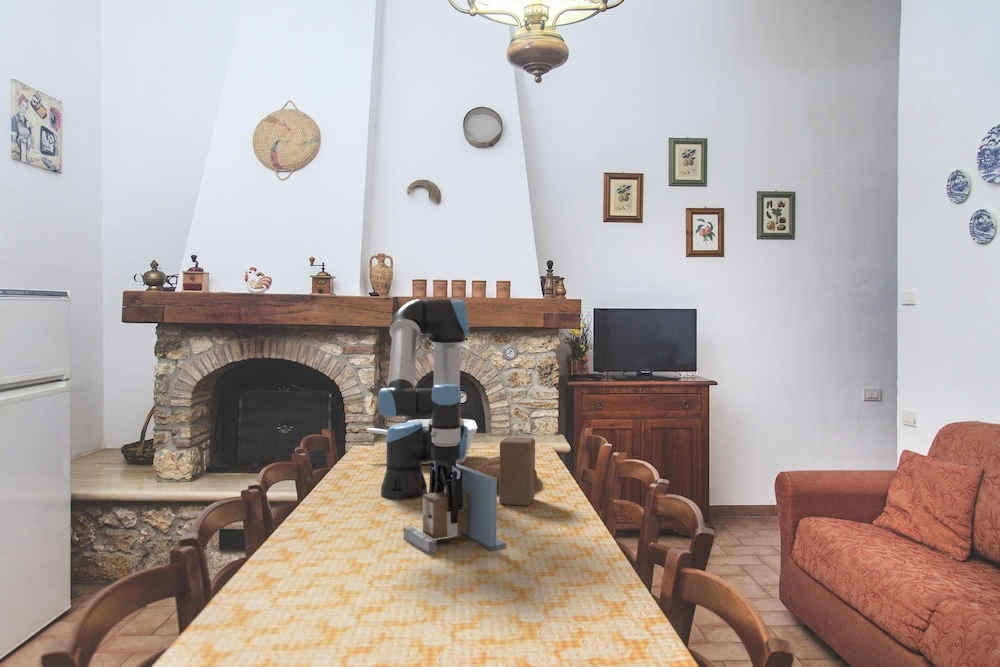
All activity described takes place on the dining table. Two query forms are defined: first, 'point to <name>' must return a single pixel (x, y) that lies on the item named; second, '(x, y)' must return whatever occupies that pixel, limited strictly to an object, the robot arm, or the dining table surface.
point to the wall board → (481, 508)
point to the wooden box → (442, 515)
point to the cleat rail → (420, 540)
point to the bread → (493, 469)
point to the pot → (469, 423)
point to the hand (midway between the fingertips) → (445, 531)
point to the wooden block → (517, 471)
